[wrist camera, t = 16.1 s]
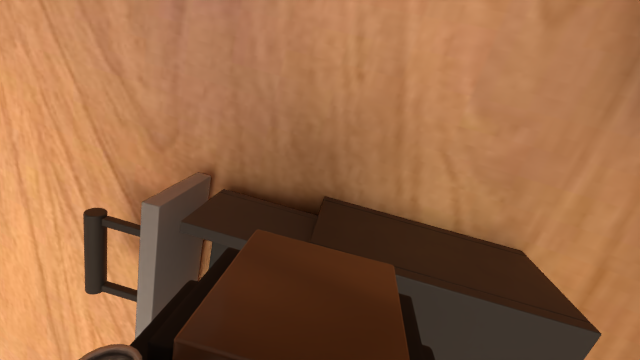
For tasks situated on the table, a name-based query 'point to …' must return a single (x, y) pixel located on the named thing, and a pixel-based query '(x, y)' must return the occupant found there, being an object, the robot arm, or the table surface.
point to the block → (297, 307)
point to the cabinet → (463, 288)
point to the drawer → (182, 239)
